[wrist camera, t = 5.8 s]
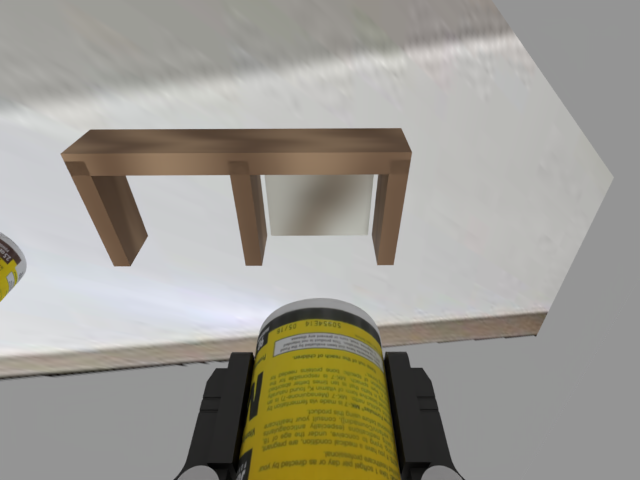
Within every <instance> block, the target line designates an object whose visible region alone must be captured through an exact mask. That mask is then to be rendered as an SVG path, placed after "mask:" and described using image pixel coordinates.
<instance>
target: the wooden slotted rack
mask: <svg viewBox="0 0 640 480" xmlns="http://www.w3.org/2000/svg"><path fill="white" fill-rule="evenodd" d="M61 156H62V158H63V161H64V163H65V165H66V167H67V169H68V171H69V173H70V175H71V177H72V179H73V182H74V184H75V186H76V188H77V190H78V192H79V194H80V196H81V198H82V200H83V202H84V205H85V207H86V209H87V211H88V213H89V215H90V217H91V219H92V221H93V223H94V226H95V228H96V230H97V232H98V234H99V236H100V238H101V240H102V242H103V244H104V246H105V249H106V251H107V253H108V255H109V257H110V259H111V261H112V263H113V265H114V267H116V266H131V265H132V263H133V261H134V260H135V258H136V256H137V254H138V253H139V251H140V249H141V248H142V246H143V244H144V242H145V241H146V239H147V237H148V234H147V231H146V229H145V226H144V223H143V221H142V218H141V215H140V213H139V210H138V207H137V205H136V202H135V199H134V197H133V194H132V191H131V188H130V186H129V183H128V180H127V178H126V176H158V175H230V179H231V185H232V191H233V196H234V202H235V208H236V213H237V219H238V225H239V231H240V236H241V242H242V248H243V253H244V259H245V265H246V266H262V264H263V258H264V252H265V246H266V241H267V228H266V219H265V211H264V202H263V193H262V185H261V176H260V175H265V184H266V193H267V202H268V211H269V220H270V230H271V236H343V235H368V229H369V219H370V209H371V199H372V189H373V178H374V175H378V180H377V189H376V199H375V208H374V218H373V227H372V240H373V245H374V251H375V256H376V262H377V265H394V260H395V254H396V248H397V242H398V236H399V229H400V223H401V217H402V211H403V205H404V199H405V193H406V187H407V181H408V175H409V169H410V163H411V156H412V151H411V148H410V146H409V144H408V142H407V140H406V137H405V135H404V133H403V131H402V128H306V129H90V130H89V131H88V132H86V133H85V134H84V135H83V136H82V137H80V138H79V139H78V140H77V141H75V142H74V143H73V144H72V145H70V146H69V147H68V148H67V149H66V150H64V151H63V152H62V153H61Z"/></svg>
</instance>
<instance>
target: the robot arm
mask: <svg viewBox="0 0 640 480" xmlns="http://www.w3.org/2000/svg"><path fill="white" fill-rule="evenodd" d="M384 365H385V372H386V379H387V386H388V392H389V399H390V406H391V414H392V420H393V427H394V434H395V440H396V447H397V454H398V461H399V467H400V474H401V480H465V479H464V478H463V477H462V476H461V475H460V474H459V472H458V471H457V470H456V468H455V466H454V464H453V462H452V459H451V456H450V452H449V448H448V444H447V440H446V436H445V432H444V428H443V424H442V420H441V416H440V412H439V409H438V405H437V401H436V399H435V393H434V389H433V385H432V381H431V380H430V378H429V377H428V375H427V374H426V372H425V371H424V369H423V368H411V366H410V361H409V357H408V354H407V352H385V357H384ZM253 366H254V355H253V352H232V353H231V355H230V358H229V363H228V368H216V369H215V370H214V372H213V373H212V375H211V376H210V378H209V379H208V380H207V382H206V386H205V390H204V394H203V400H202V402H201V405H200V409H199V410H200V411H199V413H198V417H197V421H196V425H195V429H194V433H193V436H192V440H191V444H190V448H189V452H188V456H187V459H186V462H185V464H184V467H183V468H182V470H181V472H180V473H179V474H178V475H177V477H176V478H175V479H174V480H236V474H237V468H238V461H239V455H240V449H241V443H242V436H243V431H244V423H245V418H246V411H247V403H248V399H249V393H250V386H251V379H252V373H253Z"/></svg>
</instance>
